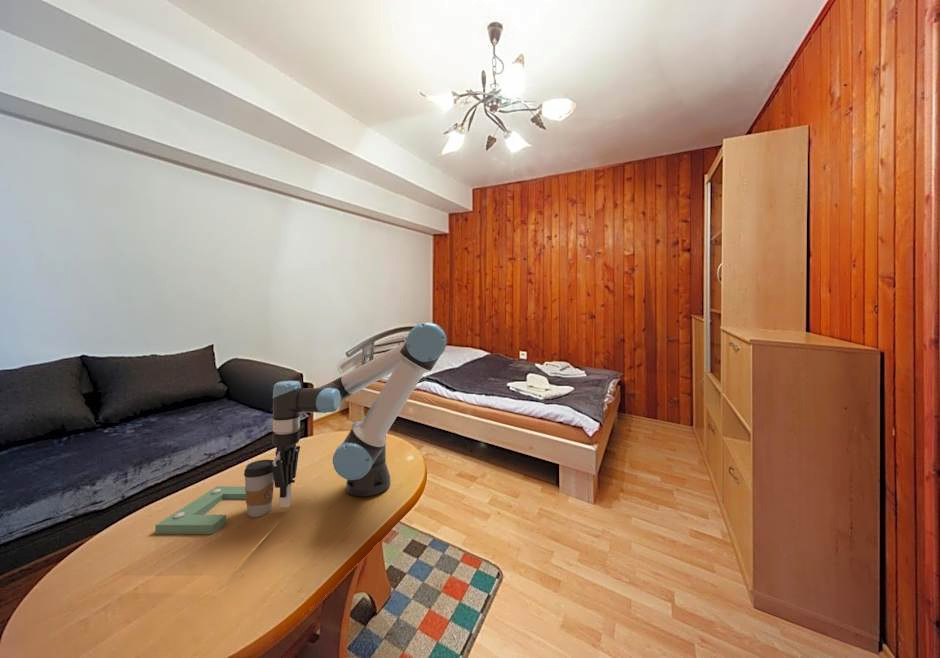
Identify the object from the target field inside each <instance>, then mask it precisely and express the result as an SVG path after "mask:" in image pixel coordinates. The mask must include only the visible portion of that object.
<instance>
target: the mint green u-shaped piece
mask: <svg viewBox="0 0 940 658" xmlns="http://www.w3.org/2000/svg"><path fill="white" fill-rule="evenodd" d="M245 488H246V487H245V486H215V487H213V488H212V489H210V490H209V491H207V492H206V493H204V494H202V495H201V496H199V497H198V498H196V499H195V500H193V501H191V502H189V503H188V504H186V505H185V506H183V507H182V508H180V509H178V510H177V511H176V512H174V513H172V514H171V515H169V516H168V517H166V518H164V519H163V520H161V521H160V522H158V523H156V524H155V535H213V534H216V532H217V531H219V530H220V529H222V527H224V526H225V525H226V524H227V514H207V513H208V512H210V511H211V509H213V508H215V506H217V505H218V504H219V503H221V502H223V500H246V491H245Z"/></svg>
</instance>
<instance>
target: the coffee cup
mask: <svg viewBox="0 0 940 658" xmlns="http://www.w3.org/2000/svg"><path fill="white" fill-rule="evenodd" d="M271 460H272V459H260V460H255V461H253V462H250V463H248V464H247V465H246V466H245V469H244V470H243V471H244V474H243V477H244V483H245V484H244V485H245V486H244V487H246V488H245V491H246V499H245V504H246V511H247V515H248V516H249V517H251V518H258V517H262V516H265V515H267V514H268V513H269V512H270V511H271V509H272V506H273V497H274V488H275V484H274V477H273V470H272V466H271V464H270V461H271Z"/></svg>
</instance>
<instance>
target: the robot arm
mask: <svg viewBox="0 0 940 658" xmlns="http://www.w3.org/2000/svg"><path fill="white" fill-rule="evenodd" d="M447 345H448V336H447V333H446V331H445V329H444V328H443V327H442V326H440V325H439V324H437V323H434V322H430V321H429V322H428V321H425V322H420V323H418V324H417V325H415V326H414V327H413V328H411V329H410V331H409V332H408V334H407V337H406V338H404V342H402V343H400V344H399V345H397V346H395V347H393V348H392V349H391V348H390V350H388V351H386V352H384V353H382V354H380V355H379V356H377V357H374V358H373V359H371V360H369V361H367V362H366V363H363V364H362V365H360V366H358V367H356V368H354V369H352V370H351V371H349V372H347V373H345V374H343V375H342V376H340V377H337V378H336V379H334V380H332V381H330V382H328V383H326V384H324V385H322V386H319V387H314V388H313V387H311V388H310V387H307V388H306V387H302V385H301V382H300V381H299V380H283V381H278V382H276V383H275V384H274V385H273V389H272V390H273V391H272V432H273V433H272V434H271V435H272V436H271V437H272V439H271V440H272V441H271V442H272V443H271V444H272V446H274V447H275V448H276V450H275V457H274V459H270V460H271V461H270V464H271V466H272V470H273V477H274V488H275V489H276V488H277V489H279V508H289V507H290V506H291V505H292V484H294V483H295V482H296V479H295V478H296V477H297V471H298V470H297V468H298V462H299V461H298V460H299V454H300V450H301V446H300V445H297V444H298V443H299V442H300V440H301V439H300V438H301V436H300V435H301V431H300V428H301V413H322V414H327V413H335V412H336V411H338V409H339V407H340V406H341V405H340V404H341V401H344V400H345V399H347V398H349V397H350V396H352V395H354V394H355V393H358V392H359V391H362V390H363V389H365V388H367V387H369V386H370V385H372V384H375V383H376V382H378V381H380V380H382V379H383V378H385V377H387V376H389V375H390V376H389V378H388V379H387V380H386V382H385V384H384V385H383V387H382V389H381V391H380V392H379V393H378V395H377V397H376V398H375V400H374V402H373V403H372V405H371V406H370V408H369V409H368V411H367V413H366V414H365V416H364V418H363V419H362V420H359V421H355V422H354V423H352V426H351V429H350V430H349V432H348V434H347V435H346V437H345V439H344V441H343V442H342V443H341V444H340V445H339V446H338V447H337V448H336V450H335V451H334V453H333V456H332V464H333V469H334V471H335V472H336V474H337V475H338V476H339V477H341V478H343V479H345V480H346V482H345V483H346V484H345V485H346V486H345V487H346V488H345V489H346V490H345V491H346V492H347V493H348V494H350V495H351V496H355V497H369V496H375V495H377V494H380V493H382V492H385V491H386V490H387V489H389V487H390V486H391V474H390V472H389V468H388V465H387V462H386V456H387V455H386V454H387V451H386V450H387V449H386V448H387V447H386V446H387V433H388V432H389V430H390V428H391V427H392V425H393V423H394V422H395V420H396V419H397V417H398V416H399V414H400V413H401V411H402V409H403V407H404V406H405V405H406V403H407V401H408V399H410V396H411V394H412V393H413V391H414V390H415V388H416V386H418V383H419V381H421V379H422V377H423V375H424V374H425V373H429V372H432V370H433V369H434V366H435V365H436V363H437V362H438V360H439V359H440V357H441V355H443V354H444V351H445V349H446V348H447Z"/></svg>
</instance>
